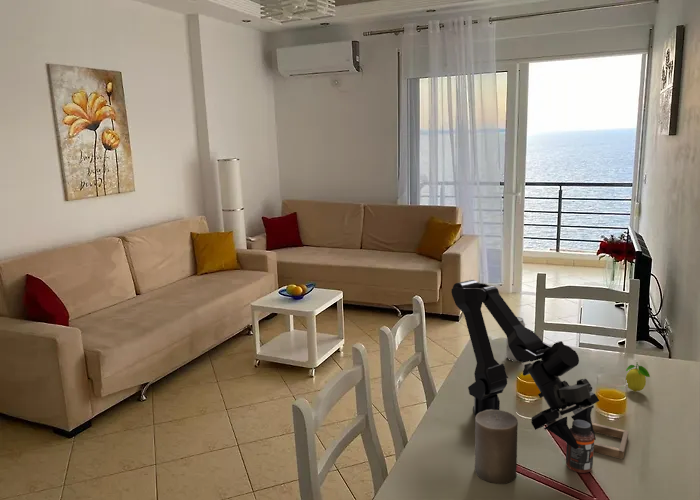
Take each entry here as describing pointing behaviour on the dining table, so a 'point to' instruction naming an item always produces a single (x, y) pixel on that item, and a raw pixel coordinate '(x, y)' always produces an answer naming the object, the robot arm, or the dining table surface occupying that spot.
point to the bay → (615, 433)
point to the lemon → (636, 377)
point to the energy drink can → (508, 351)
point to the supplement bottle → (581, 447)
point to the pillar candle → (496, 446)
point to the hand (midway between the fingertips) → (585, 444)
